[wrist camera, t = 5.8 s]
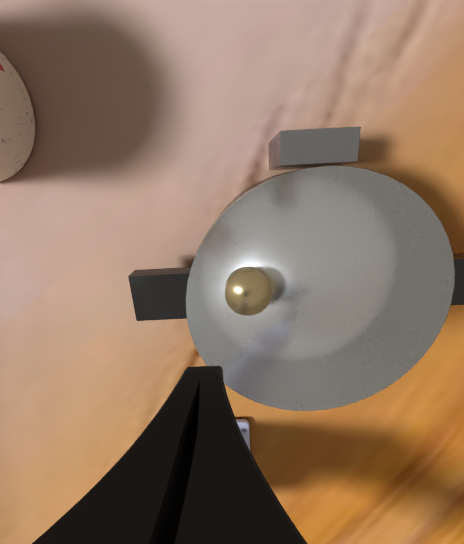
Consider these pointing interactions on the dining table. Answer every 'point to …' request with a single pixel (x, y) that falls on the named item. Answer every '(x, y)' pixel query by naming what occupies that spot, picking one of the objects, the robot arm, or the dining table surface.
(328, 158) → the cooker pot
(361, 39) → the dining table surface
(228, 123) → the dining table surface
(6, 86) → the teacup with lid
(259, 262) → the cooker lid
